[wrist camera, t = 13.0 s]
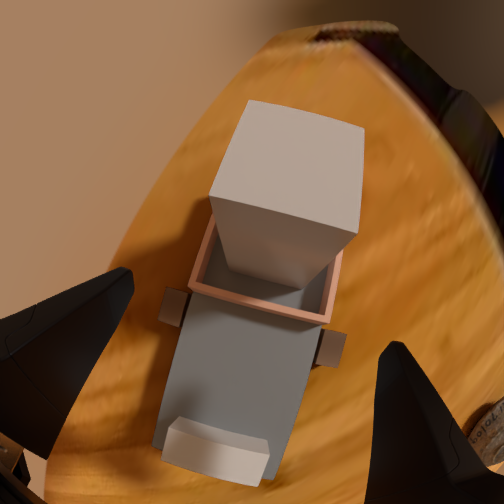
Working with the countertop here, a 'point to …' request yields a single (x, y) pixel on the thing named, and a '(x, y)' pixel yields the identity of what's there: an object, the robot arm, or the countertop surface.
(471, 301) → the countertop surface
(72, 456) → the countertop surface
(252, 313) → the board
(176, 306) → the pivot stand
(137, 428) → the countertop surface
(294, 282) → the grey block
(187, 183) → the countertop surface
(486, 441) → the fossilized seashell
